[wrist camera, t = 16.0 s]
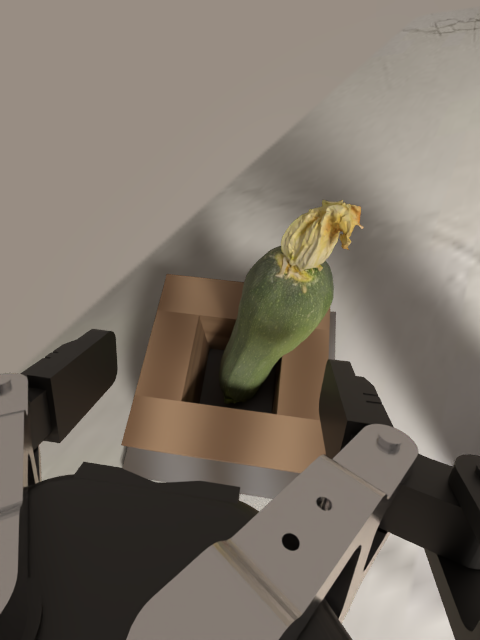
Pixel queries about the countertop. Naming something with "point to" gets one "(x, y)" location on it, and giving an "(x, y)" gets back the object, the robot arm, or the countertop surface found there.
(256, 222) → the countertop surface
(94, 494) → the robot arm
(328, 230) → the vegetable
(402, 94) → the countertop surface
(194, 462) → the holder
